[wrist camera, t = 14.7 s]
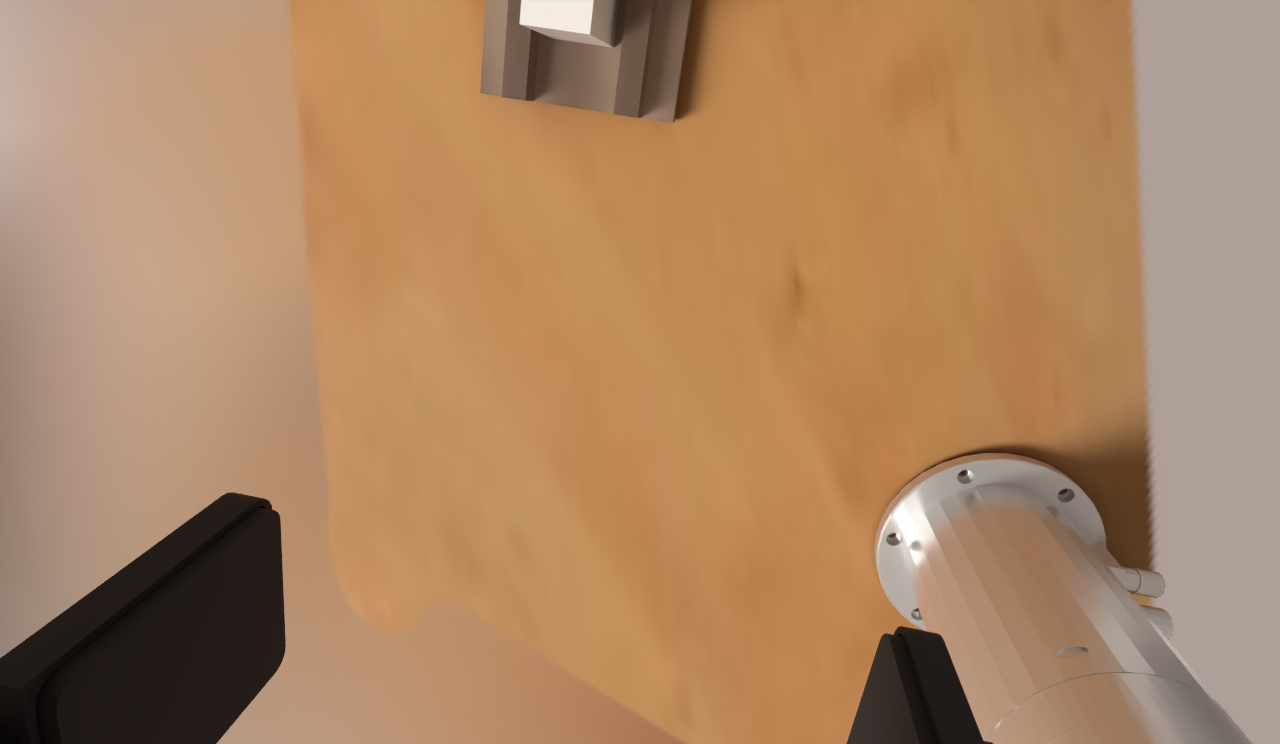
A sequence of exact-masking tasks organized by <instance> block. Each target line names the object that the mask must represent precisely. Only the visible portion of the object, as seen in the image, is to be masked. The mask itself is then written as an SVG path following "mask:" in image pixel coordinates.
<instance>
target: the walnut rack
mask: <svg viewBox="0 0 1280 744" xmlns="http://www.w3.org/2000/svg"><path fill="white" fill-rule="evenodd" d="M692 2H693V0H619V7H618V16H617V24H616V33H615V41H614V48H613V47H606V46H599V45H592V44H585V43H579V42H572V41H565V40H558V39H553V38H551V37H549V36H546V35H544V34H541V33H539V32H537V31H534V30H532V29H530V28H527V27H525V26H523V25H520V11H521V0H486V8H485V26H484V43H483V60H482V77H481V93H484V94H490V95H497V96H502V97H506V98H512V99H519V100H526V101H536V102H543V103H549V104H556V105H562V106H569V107H575V108H582V109H589V110H595V111H602V112H608V113H613V114H617V115H624V116H630V117H637V118H648V119H654V120H661V121H667V122H675V116H676V109H677V103H678V96H679V89H680V82H681V76H682V69H683V62H684V56H685V49H686V42H687V36H688V29H689V22H690V16H691V9H692Z"/></svg>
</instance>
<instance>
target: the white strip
mask: <svg viewBox="0 0 1280 744" xmlns="http://www.w3.org/2000/svg"><path fill="white" fill-rule="evenodd" d="M618 7H619V0H521V11H520V25H523V26H525V27H527V28H530V29H532V30H534V31H537V32H539V33H541V34H544V35H546V36H549V37H551V38H553V39H558V40H565V41H572V42H579V43H585V44H592V45H599V46H606V47H613V48H614V41H615V33H616V24H617V16H618Z"/></svg>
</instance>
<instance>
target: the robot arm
mask: <svg viewBox="0 0 1280 744" xmlns="http://www.w3.org/2000/svg"><path fill="white" fill-rule="evenodd" d="M963 470H965V471H964V472H963V473H960V472H961V471H963ZM891 533H893V534H891ZM874 554H875V563H876V569H877V572H878V575H879V579H880V583H881V585H882V587H883V589H884V591H885V593H886V595H887V597H888V599H889V600H890V601H891V603H892V604H893V605H894V607H895V608H896V609H897V610H898V612H899V613H900V614H901V615H903V616H904V617H905V618H906V619H907V620H908V621H909V622H911V623H912V624H914V625H915V626H917V627H919V628H921V629H922V630H918V629H913V628H908V627H903V626H900V627H898V628H897V629H896V631H895V633H894V635H891V634H883V636H882V637H881V640H880V642H879V645H878V648H877V651H876V655H875V658H874V661H873V664H872V667H871V670H870V673H869V676H868V679H867V682H866V686H865V689H864V692H863V695H862V698H861V701H860V704H859V707H858V710H857V713H856V717H855V720H854V723H853V726H852V729H851V732H850V735H849V738H848V741H847V744H1253V743H1252V742H1251V740H1250V739H1249V738H1248V737H1247V736H1246V734H1245V733H1244V732H1243V731H1242V729H1241V728H1240V727H1239V726H1238V725H1237V723H1236V722H1235V721H1234V720H1233V719H1232V717H1231V716H1230V715H1229V714H1228V713H1227V711H1226V710H1225V709H1224V708H1223V706H1222V705H1221V704H1220V703H1219V702H1218V700H1217V699H1216V698H1215V697H1214V696H1213V694H1212V693H1211V692H1210V691H1209V689H1208V688H1207V687H1206V686H1205V685H1204V683H1203V682H1202V681H1201V680H1200V678H1199V677H1198V676H1197V675H1196V674H1195V672H1194V671H1193V670H1192V669H1191V667H1189V665H1188V664H1187V663H1186V661H1185V660H1184V659H1183V658H1182V656H1181V655H1180V654H1179V653H1178V652H1177V651H1176V649H1175V648H1174V647H1173V646H1172V644H1171V643H1170V642H1169V639H1170V638H1171V636H1172V631H1173V625H1172V619H1171V617H1170V615H1169V614H1168V612H1166V611H1165V610H1164V609H1161V608H1156V607H1151V606H1146V605H1140V604H1138V603H1137V602H1136V600H1135V599H1134V598H1133V597H1132V595H1131V594H1130V593H1129V592H1131V593H1133V594H1138V595H1144V596H1149V597H1154V598H1157V597H1160V596H1161V595H1162V594H1163V592H1164V588H1165V582H1164V578H1163V577H1162V575H1161V574H1159V573H1158V572H1153V571H1148V570H1143V569H1138V568H1132V569H1131V568H1126V567H1121V566H1120V564H1119V563H1118V562H1117V561H1116V560H1115V559H1114V557H1113V556H1112V555H1111V554H1110V553H1109V551H1108V550H1107V549H1106V535H1105V530H1104V526H1103V522H1102V519H1101V517H1100V515H1099V513H1098V511H1097V509H1096V507H1095V505H1094V503H1093V502H1092V501H1091V500H1090V499H1089V497H1088V496H1087V495H1086V494H1085V493H1084V491H1083V490H1082V489H1081V488H1080V487H1079V486H1078V485H1077V484H1076V483H1075V482H1074V481H1073V480H1071V479H1070V478H1069V477H1068V476H1067V475H1066V474H1064V473H1062V472H1061V471H1059V470H1057V469H1056V468H1054V467H1053V466H1051V465H1049V464H1046V463H1044V462H1041V461H1038V460H1036V459H1033V458H1030V457H1026V456H1020V455H1015V454H1009V453H982V454H975V455H968V456H962V457H959V458H956V459H953V460H950V461H947V462H943V463H941V464H939V465H937V466H935V467H933V468H931V469H929V470H927V471H925V472H923V473H922V474H920V475H919V476H918V477H916V478H915V479H914V480H912V481H911V482H910V483H908V484H907V485H906V486H905V487H904V488H903V489H902V490H901V491H900V492H899V493H898V494H897V495H896V496H895V497H894V499H893V500H892V501H891V503H890V504H889V506H888V508H887V509H886V511H885V512H884V514H883V516H882V518H881V521H880V524H879V526H878V529H877V532H876V539H875V547H874ZM1128 591H1129V592H1128ZM923 630H924V631H923ZM284 653H285V622H284V597H283V572H282V550H281V525H280V515H279V514H278V512H276V511H274V510H272V505H271V504H270V502H269V501H268V500H266V499H263V498H258V497H253V496H248V495H243V494H238V493H227V494H225V495H223V496H221V497H220V498H219V499H217V500H216V501H214V502H213V503H212V504H210V505H209V506H208V507H206V508H205V509H203V510H202V511H201V512H199V513H198V514H197V515H195V516H194V517H193V518H191V519H190V520H189V521H187V522H186V523H184V524H183V525H182V526H180V527H179V528H178V529H176V530H175V531H173V532H172V533H171V534H169V535H168V536H167V537H165V538H164V539H163V540H161V541H160V542H158V543H157V544H156V545H154V546H153V547H152V548H150V549H149V550H148V551H146V552H145V553H143V554H142V555H141V556H139V557H138V558H137V559H135V560H134V561H133V562H131V563H130V564H128V565H127V566H126V567H124V568H123V569H122V570H120V571H119V572H118V573H116V574H115V575H114V576H112V577H111V578H109V579H108V580H107V581H105V582H104V583H103V584H101V585H100V586H98V587H97V588H96V589H94V590H93V591H92V592H90V593H89V594H87V595H86V596H85V597H83V598H82V599H81V600H79V601H78V602H77V603H75V604H74V605H72V606H71V607H70V608H69V609H67V610H66V611H64V612H63V613H62V614H60V615H59V616H57V617H56V618H55V619H53V620H52V621H51V622H49V623H48V624H47V625H45V626H44V627H42V628H41V629H40V630H39V631H37V632H36V633H35V634H33V635H31V636H30V637H29V638H27V639H26V640H25V641H23V642H22V643H21V644H19V645H18V646H17V647H15V648H14V649H12V650H11V651H10V652H8V653H7V654H6V655H4V656H3V657H2V658H0V744H216V743H217V742H218V741H219V740H220V739H221V737H222V736H223V735H224V734H225V733H226V731H227V730H228V729H229V727H230V726H231V725H232V724H233V723H234V722H235V721H236V719H237V718H238V717H239V716H240V715H241V713H242V712H243V711H244V710H245V708H246V707H247V706H248V705H249V704H250V703H251V701H252V700H253V699H254V698H255V697H256V695H257V694H258V693H259V692H260V691H261V689H262V688H263V687H264V686H265V685H266V683H267V682H268V681H269V680H270V679H271V677H272V676H273V675H274V674H275V672H276V671H277V670H278V668H279V666H280V664H281V662H282V660H283V657H284Z"/></svg>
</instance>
